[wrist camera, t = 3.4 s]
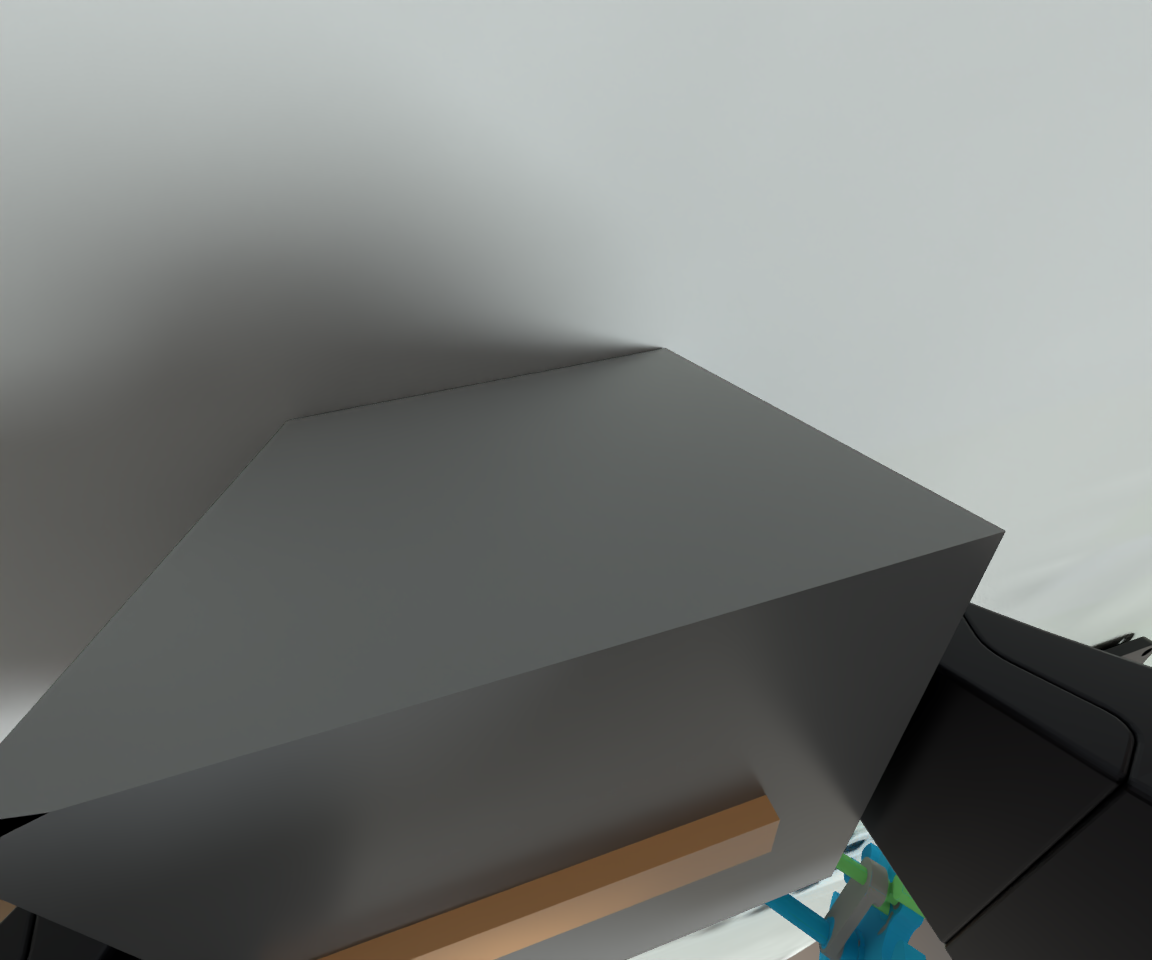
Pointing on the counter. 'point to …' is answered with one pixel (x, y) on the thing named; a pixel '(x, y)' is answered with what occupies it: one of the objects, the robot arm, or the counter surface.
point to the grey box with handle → (493, 681)
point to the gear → (861, 913)
